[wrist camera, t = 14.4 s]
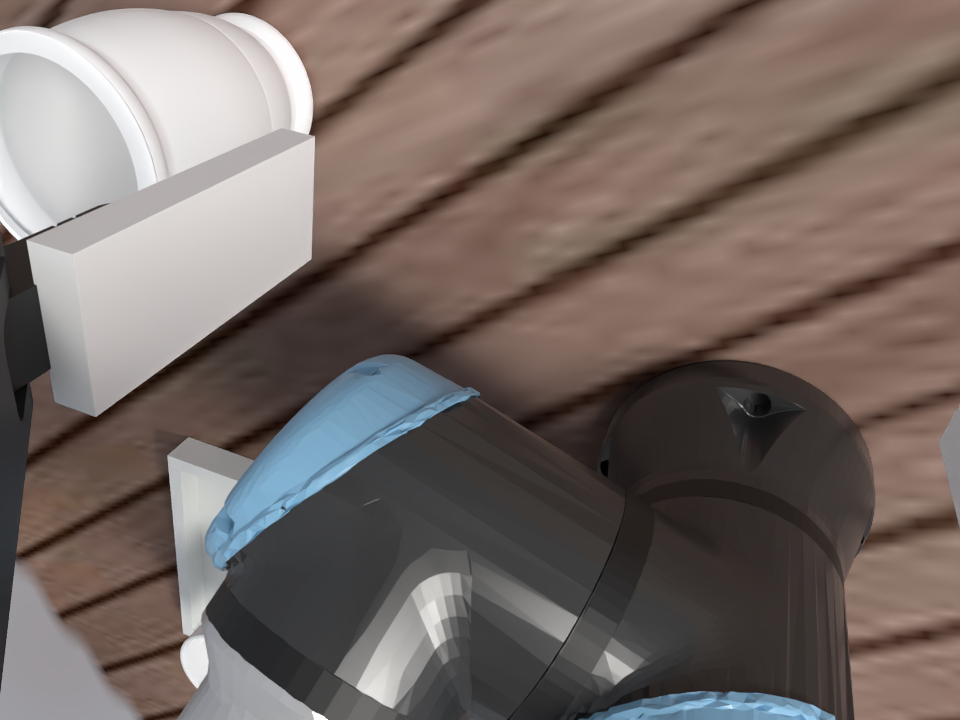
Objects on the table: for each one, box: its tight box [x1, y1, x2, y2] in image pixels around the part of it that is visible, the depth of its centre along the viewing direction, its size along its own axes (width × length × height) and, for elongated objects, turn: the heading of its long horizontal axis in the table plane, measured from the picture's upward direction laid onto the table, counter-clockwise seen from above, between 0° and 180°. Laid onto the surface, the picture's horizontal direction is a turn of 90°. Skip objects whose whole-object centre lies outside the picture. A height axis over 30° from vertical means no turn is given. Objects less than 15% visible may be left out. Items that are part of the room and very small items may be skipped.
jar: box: [0, 8, 313, 240], centre depth 40 cm, size 11×10×15 cm
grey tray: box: [167, 437, 254, 636], centre depth 64 cm, size 20×20×2 cm
